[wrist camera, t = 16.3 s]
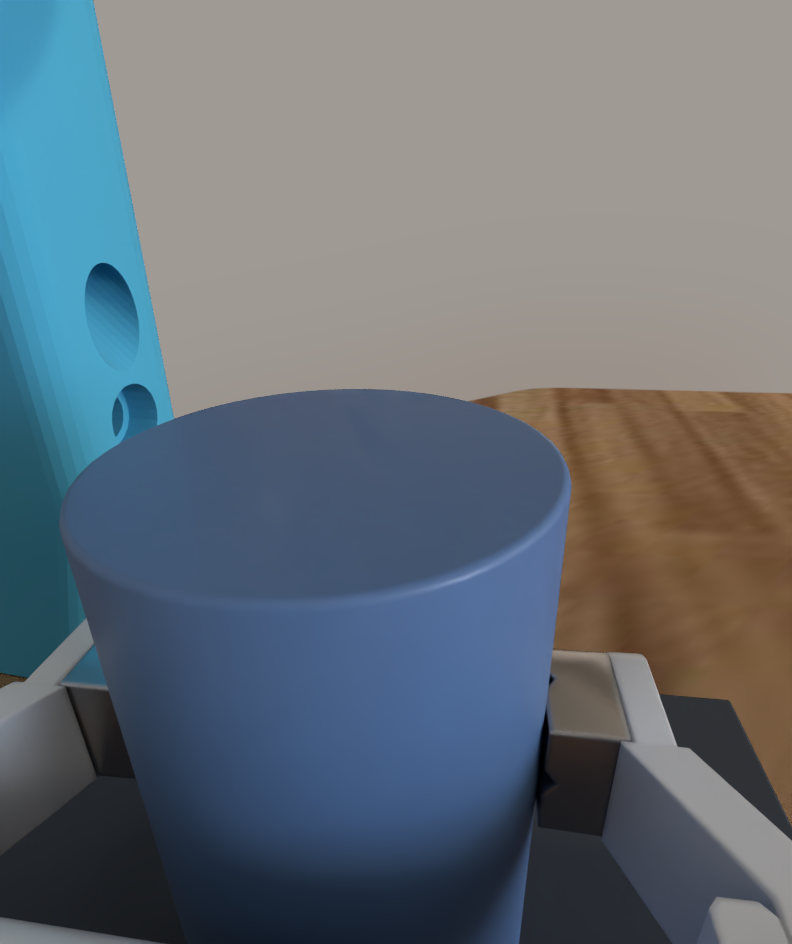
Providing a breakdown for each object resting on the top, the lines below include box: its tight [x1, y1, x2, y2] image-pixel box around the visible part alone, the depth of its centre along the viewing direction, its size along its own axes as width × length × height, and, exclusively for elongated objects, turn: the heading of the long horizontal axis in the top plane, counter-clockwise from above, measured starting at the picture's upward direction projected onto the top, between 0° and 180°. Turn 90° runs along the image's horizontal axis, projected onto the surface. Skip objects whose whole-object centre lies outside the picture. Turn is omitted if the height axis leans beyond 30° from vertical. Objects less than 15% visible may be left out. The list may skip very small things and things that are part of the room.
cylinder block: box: [59, 389, 571, 944], centre depth 9 cm, size 6×6×10 cm
